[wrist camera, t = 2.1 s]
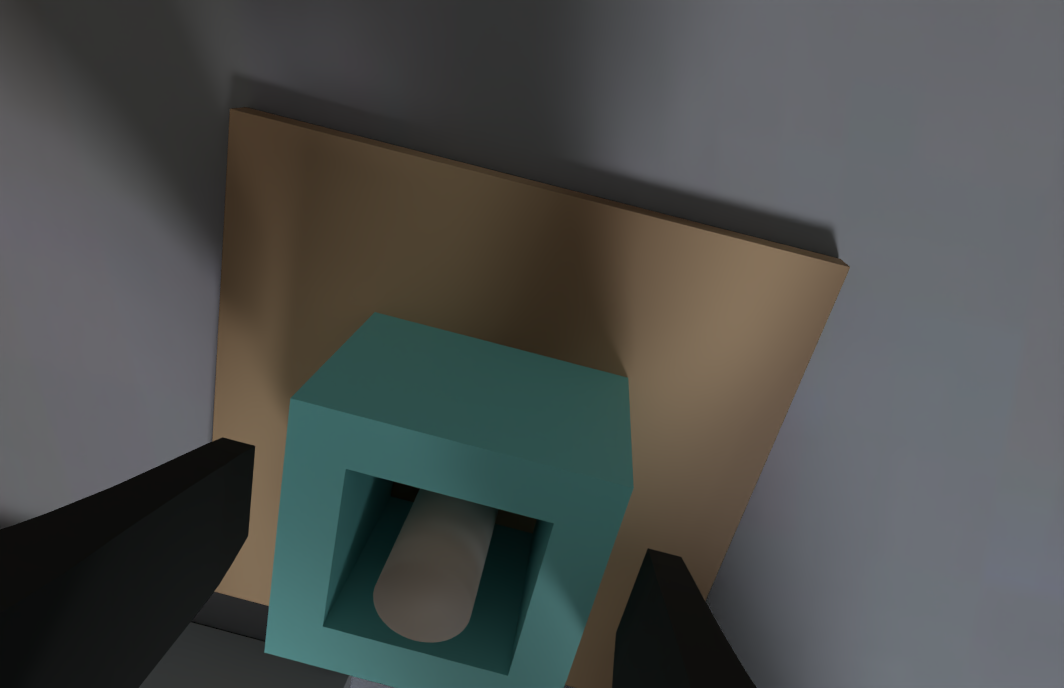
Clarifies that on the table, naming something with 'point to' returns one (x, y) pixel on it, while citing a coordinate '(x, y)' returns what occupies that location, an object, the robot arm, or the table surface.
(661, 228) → the stake board
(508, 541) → the teal hollow block
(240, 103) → the table surface
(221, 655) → the tray
